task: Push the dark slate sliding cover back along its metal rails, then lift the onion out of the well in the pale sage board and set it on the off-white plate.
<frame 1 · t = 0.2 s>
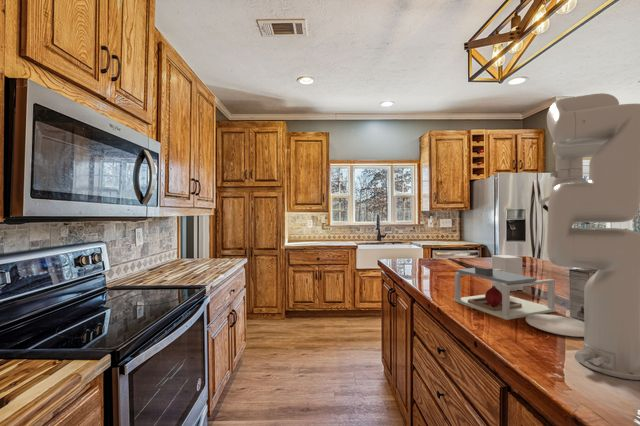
hand: (568, 223, 110), 31 cm above the worktop, tool pointing down, fingers open, 9 cm apart
slide cover: (493, 271, 115), point 13 cm above the worktop, slide at 0.0 cm
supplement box: (506, 289, 142), on the worktop
coffee box: (589, 318, 103), on the worktop
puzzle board: (501, 305, 116), on the worktop
plate: (559, 327, 95), on the worktop
onion: (494, 307, 115), resting in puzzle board
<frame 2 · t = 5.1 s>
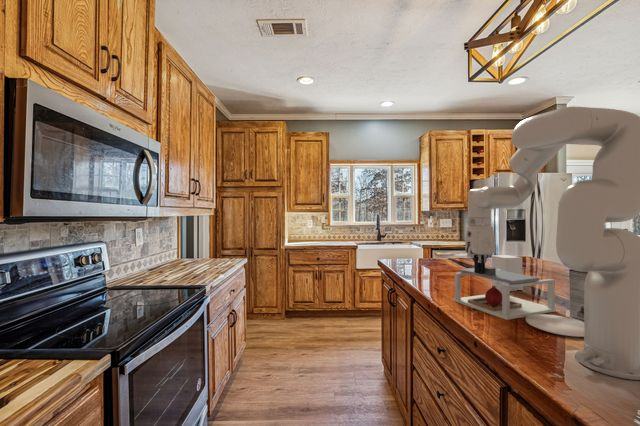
hand: (479, 273, 112), 13 cm above the worktop, tool pointing down, fingers closed
slide cover: (496, 271, 115), point 13 cm above the worktop, slide at 1.4 cm, touching gripper
everything else where it was.
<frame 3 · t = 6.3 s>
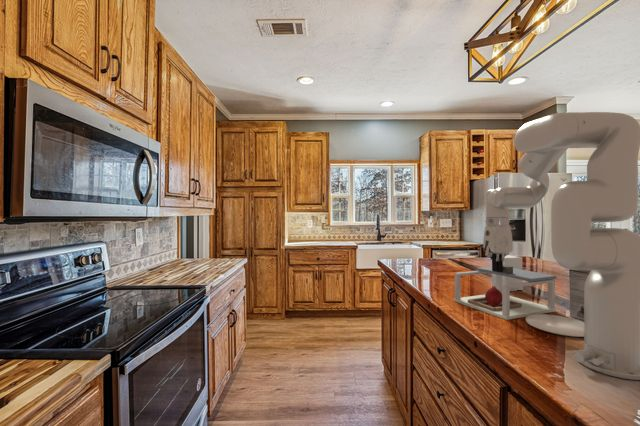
hand: (497, 271, 115), 13 cm above the worktop, tool pointing down, fingers closed
slide cover: (513, 269, 118), point 13 cm above the worktop, slide at 10.1 cm, touching gripper
everything else where it was.
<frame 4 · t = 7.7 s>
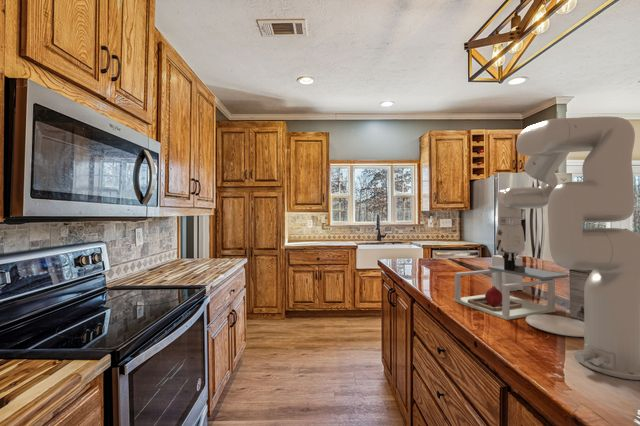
hand: (509, 270, 118), 13 cm above the worktop, tool pointing down, fingers closed
slide cover: (525, 268, 120), point 13 cm above the worktop, slide at 16.3 cm, touching gripper
everything else where it was.
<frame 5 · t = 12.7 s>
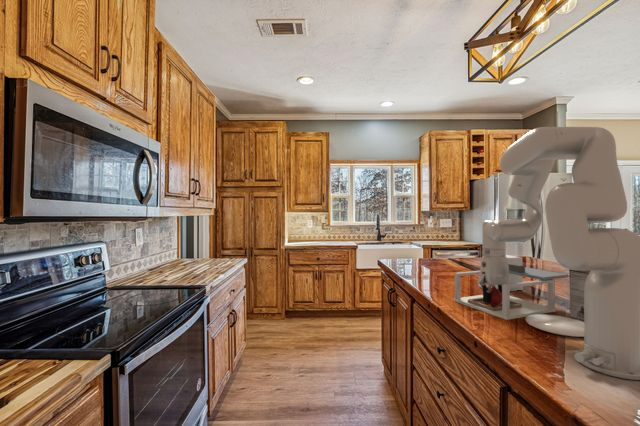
hand: (494, 301, 115), 2 cm above the worktop, tool pointing down, fingers closed on onion, 5 cm apart
slide cover: (525, 268, 120), point 13 cm above the worktop, slide at 16.3 cm
onion: (494, 307, 115), resting in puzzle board, touching gripper
everything else where it was.
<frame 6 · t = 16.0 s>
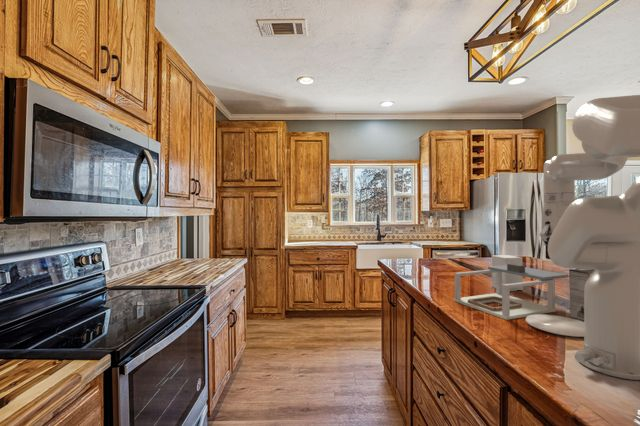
hand: (559, 258, 94), 21 cm above the worktop, tool pointing down, fingers closed on onion, 5 cm apart
onion: (559, 265, 94), point 19 cm above the worktop, touching gripper
everything else where it was.
when the fingers open (5 cm above the worktop, at t = 19.5 s): onion drops 1 cm, resting on plate.
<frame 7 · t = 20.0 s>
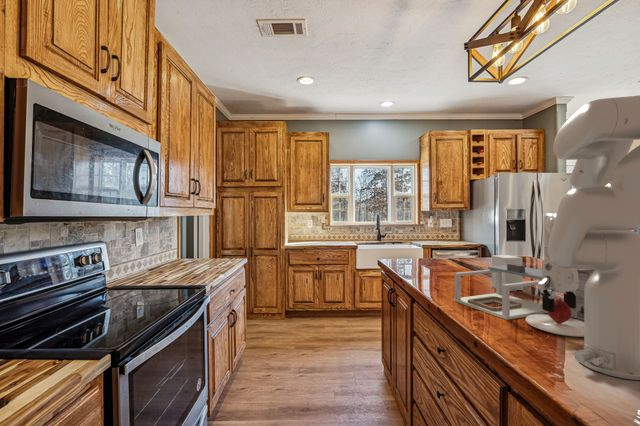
hand: (559, 309, 95), 6 cm above the worktop, tool pointing down, fingers open, 9 cm apart
onion: (559, 324, 94), point 1 cm above the worktop, touching plate
everything else where it was.
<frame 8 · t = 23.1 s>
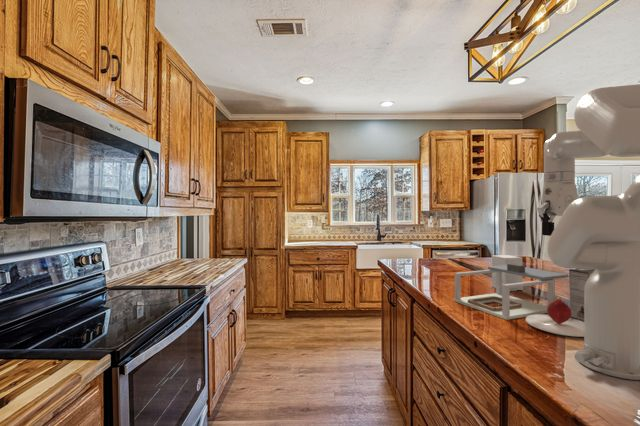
hand: (559, 234, 94), 28 cm above the worktop, tool pointing down, fingers open, 9 cm apart
nothing on the worktop moved.
at the end: slide cover slide at 16.3 cm; onion inside the target area on the plate (0.3 cm from its centre), point 1.0 cm above the plate's base; the gripper is holding nothing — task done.
